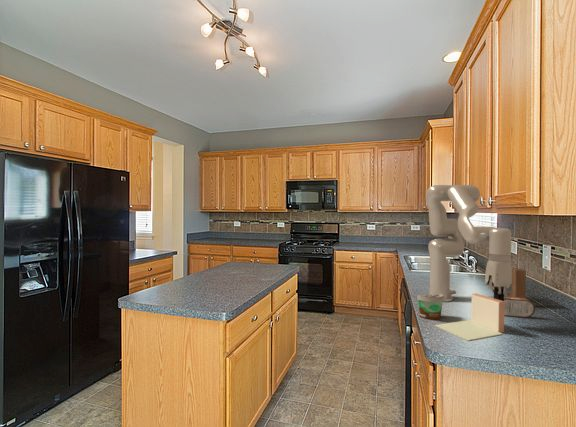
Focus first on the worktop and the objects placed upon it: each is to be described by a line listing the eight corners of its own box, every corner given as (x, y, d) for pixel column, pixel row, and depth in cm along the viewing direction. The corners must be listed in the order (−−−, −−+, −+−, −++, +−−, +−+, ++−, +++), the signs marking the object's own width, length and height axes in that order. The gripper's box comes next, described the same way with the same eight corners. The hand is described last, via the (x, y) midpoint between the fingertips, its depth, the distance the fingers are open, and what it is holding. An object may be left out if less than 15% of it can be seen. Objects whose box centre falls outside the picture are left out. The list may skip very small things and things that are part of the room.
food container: (426, 322, 130) (426, 298, 130) (416, 317, 136) (416, 294, 136) (450, 319, 133) (451, 296, 133) (440, 314, 139) (440, 292, 139)
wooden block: (506, 301, 161) (507, 266, 160) (516, 301, 159) (517, 266, 159) (514, 306, 152) (515, 269, 152) (525, 307, 151) (526, 270, 150)
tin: (532, 316, 138) (532, 297, 137) (536, 319, 134) (536, 300, 134) (493, 313, 141) (494, 295, 141) (496, 315, 138) (496, 297, 138)
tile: (475, 321, 131) (476, 293, 131) (503, 332, 120) (504, 301, 120) (470, 322, 130) (471, 293, 130) (498, 333, 119) (499, 302, 119)
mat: (467, 320, 132) (467, 320, 132) (502, 334, 118) (502, 333, 118) (435, 326, 126) (435, 325, 126) (468, 341, 112) (468, 340, 112)
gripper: (503, 256, 133) (502, 298, 133) (477, 257, 128) (477, 302, 128) (521, 258, 126) (520, 303, 126) (495, 260, 121) (494, 307, 121)
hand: (498, 302), depth 127 cm, fingers closed
